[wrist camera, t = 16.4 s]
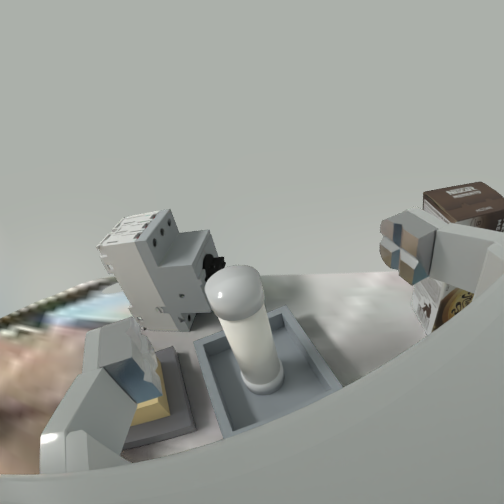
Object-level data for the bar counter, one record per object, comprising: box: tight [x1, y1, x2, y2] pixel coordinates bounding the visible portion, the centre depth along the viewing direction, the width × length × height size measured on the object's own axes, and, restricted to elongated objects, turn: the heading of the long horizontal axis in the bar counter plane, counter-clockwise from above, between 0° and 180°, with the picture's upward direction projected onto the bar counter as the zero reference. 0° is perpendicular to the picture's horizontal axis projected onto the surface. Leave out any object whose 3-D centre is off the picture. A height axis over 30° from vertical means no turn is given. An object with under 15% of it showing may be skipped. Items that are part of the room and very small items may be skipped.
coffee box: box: [411, 182, 504, 335], centre depth 28 cm, size 9×6×16 cm
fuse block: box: [122, 346, 197, 450], centre depth 30 cm, size 12×12×4 cm
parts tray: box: [193, 305, 343, 439], centre depth 31 cm, size 12×14×3 cm
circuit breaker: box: [96, 209, 226, 332], centre depth 39 cm, size 8×14×15 cm, turn 81°
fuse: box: [205, 265, 285, 395], centre depth 27 cm, size 4×4×14 cm
